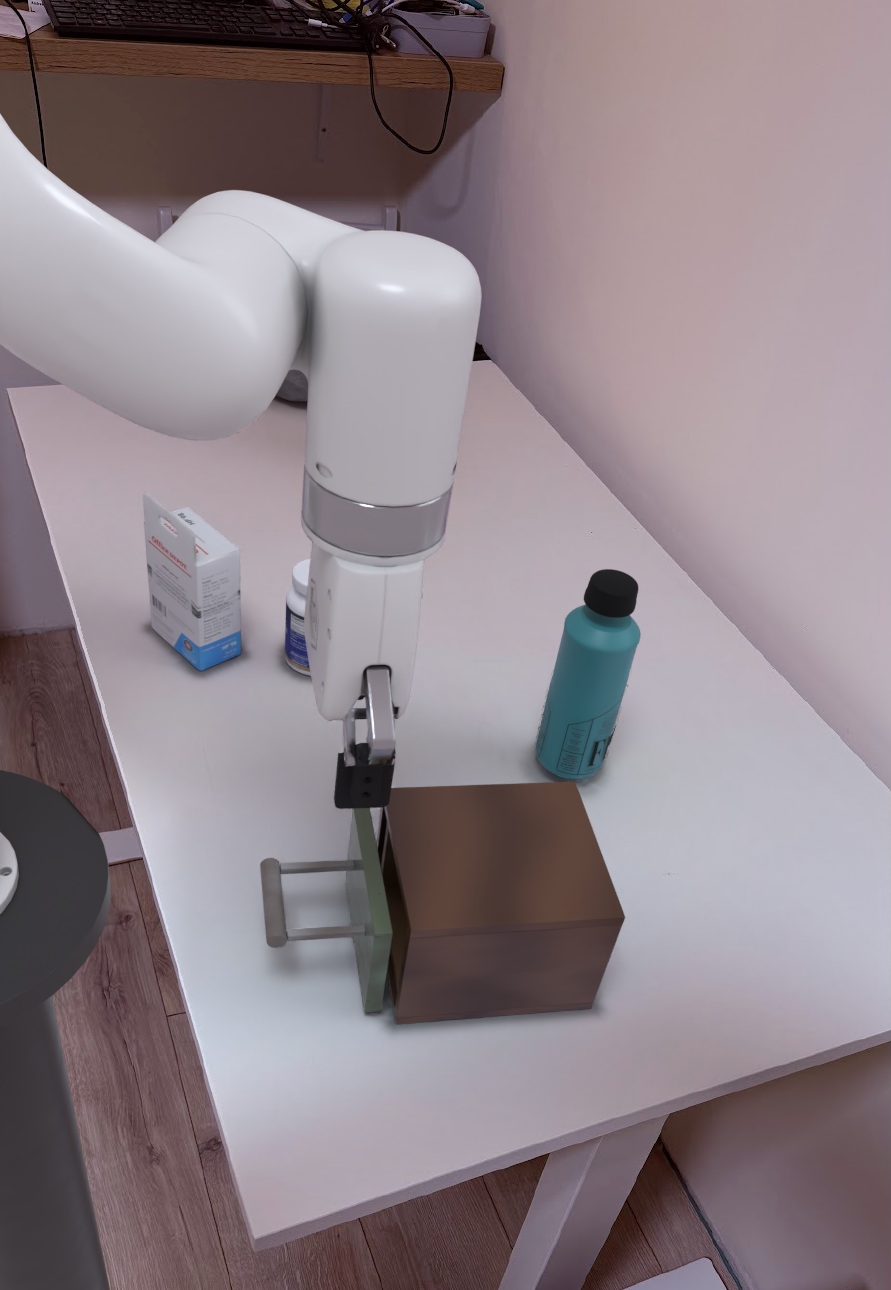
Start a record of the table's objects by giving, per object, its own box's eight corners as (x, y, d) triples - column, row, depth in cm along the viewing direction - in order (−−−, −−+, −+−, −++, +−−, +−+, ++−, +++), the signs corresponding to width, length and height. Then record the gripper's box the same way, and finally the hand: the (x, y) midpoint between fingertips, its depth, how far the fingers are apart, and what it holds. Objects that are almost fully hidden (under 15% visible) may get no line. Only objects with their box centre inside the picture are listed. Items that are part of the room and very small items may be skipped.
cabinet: (395, 1024, 79) (411, 930, 72) (370, 884, 88) (382, 787, 81) (591, 1009, 82) (625, 917, 75) (548, 874, 91) (575, 781, 84)
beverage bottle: (583, 804, 98) (640, 615, 84) (516, 772, 100) (560, 583, 86) (612, 763, 102) (670, 577, 88) (547, 733, 104) (594, 547, 90)
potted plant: (271, 334, 151) (379, 324, 148) (267, 425, 149) (375, 418, 146) (235, 284, 139) (351, 272, 136) (230, 382, 138) (347, 373, 134)
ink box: (243, 655, 106) (243, 518, 96) (199, 673, 104) (194, 534, 94) (193, 610, 111) (188, 474, 100) (149, 626, 108) (139, 488, 98)
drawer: (267, 1020, 77) (270, 940, 71) (256, 888, 85) (258, 807, 79) (548, 998, 81) (573, 921, 75) (512, 874, 90) (532, 796, 84)
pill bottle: (299, 634, 110) (303, 547, 103) (353, 652, 109) (360, 565, 102) (274, 667, 106) (276, 578, 99) (329, 685, 105) (335, 596, 98)
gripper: (286, 417, 62) (277, 661, 74) (321, 600, 50) (303, 855, 62) (419, 423, 64) (388, 660, 76) (482, 600, 52) (435, 849, 64)
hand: (350, 748), depth 69 cm, fingers open, 9 cm apart
